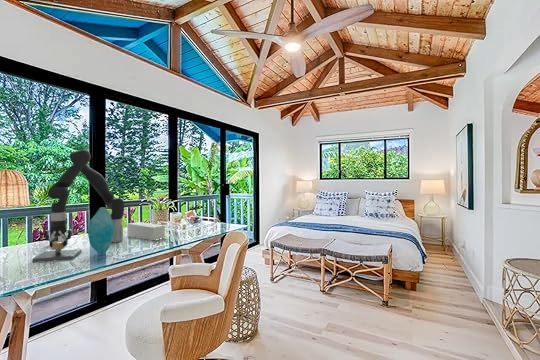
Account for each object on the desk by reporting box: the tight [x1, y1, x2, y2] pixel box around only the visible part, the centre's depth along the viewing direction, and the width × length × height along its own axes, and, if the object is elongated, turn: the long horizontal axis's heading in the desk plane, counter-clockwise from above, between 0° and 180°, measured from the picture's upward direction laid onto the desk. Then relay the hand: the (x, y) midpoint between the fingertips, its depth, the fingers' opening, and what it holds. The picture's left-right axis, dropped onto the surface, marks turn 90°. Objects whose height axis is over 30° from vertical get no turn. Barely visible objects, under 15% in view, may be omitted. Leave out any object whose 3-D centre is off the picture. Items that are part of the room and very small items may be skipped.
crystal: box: [87, 207, 114, 256], centre depth 179 cm, size 12×14×30 cm
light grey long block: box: [126, 221, 166, 241], centre depth 229 cm, size 32×11×11 cm, turn 62°
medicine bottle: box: [50, 233, 69, 245], centre depth 203 cm, size 7×7×12 cm
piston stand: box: [31, 242, 82, 263], centre depth 172 cm, size 20×16×9 cm
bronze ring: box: [51, 241, 66, 251], centre depth 172 cm, size 6×6×4 cm
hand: (58, 246), depth 172 cm, fingers closed on bronze ring, 6 cm apart
